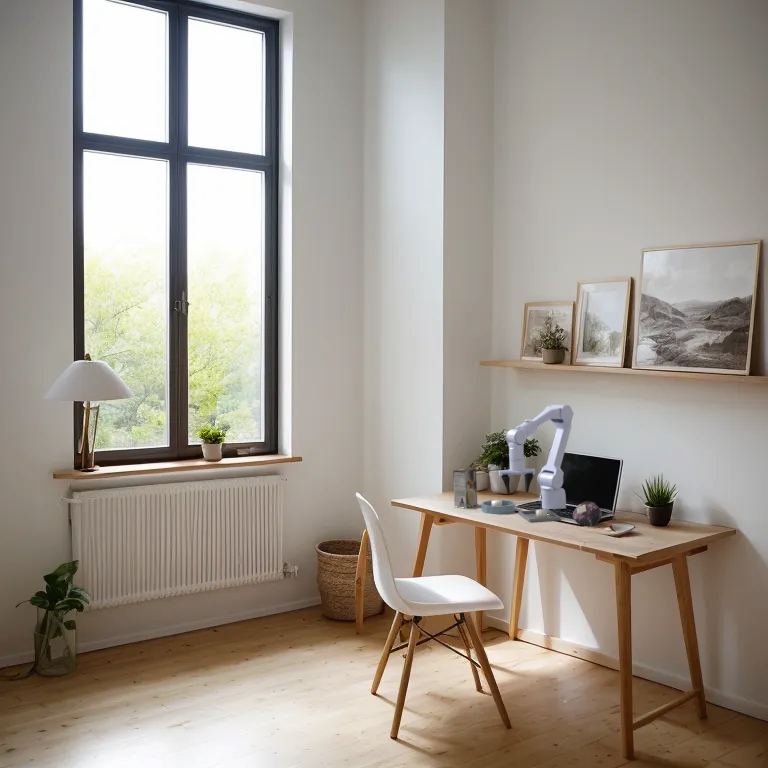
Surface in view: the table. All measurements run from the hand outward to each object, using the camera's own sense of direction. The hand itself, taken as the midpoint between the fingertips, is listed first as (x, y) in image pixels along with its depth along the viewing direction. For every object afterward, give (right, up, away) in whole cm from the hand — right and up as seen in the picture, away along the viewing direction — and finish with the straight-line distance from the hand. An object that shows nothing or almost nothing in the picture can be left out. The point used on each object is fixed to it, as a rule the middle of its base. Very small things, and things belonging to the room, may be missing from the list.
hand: (517, 492), depth 350 cm
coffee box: (-19, -9, +24) cm, 32 cm away
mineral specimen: (+23, -10, -21) cm, 33 cm away
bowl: (-7, -9, +8) cm, 14 cm away
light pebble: (-7, -8, +11) cm, 15 cm away
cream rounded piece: (+8, -9, -10) cm, 16 cm away
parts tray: (+7, -10, -7) cm, 14 cm away
